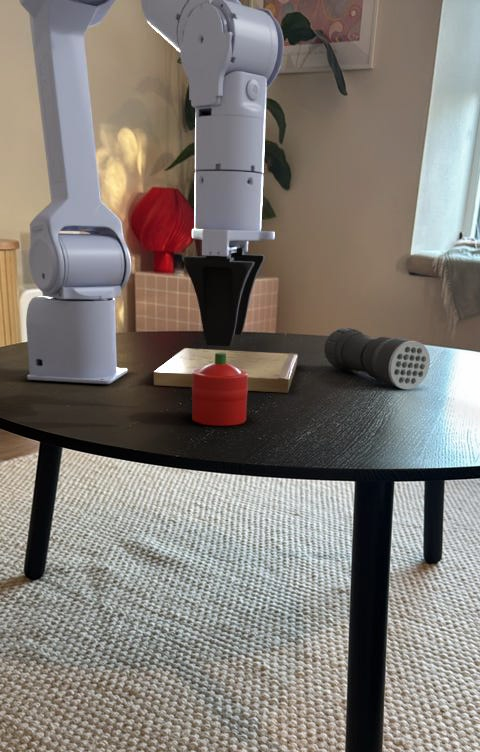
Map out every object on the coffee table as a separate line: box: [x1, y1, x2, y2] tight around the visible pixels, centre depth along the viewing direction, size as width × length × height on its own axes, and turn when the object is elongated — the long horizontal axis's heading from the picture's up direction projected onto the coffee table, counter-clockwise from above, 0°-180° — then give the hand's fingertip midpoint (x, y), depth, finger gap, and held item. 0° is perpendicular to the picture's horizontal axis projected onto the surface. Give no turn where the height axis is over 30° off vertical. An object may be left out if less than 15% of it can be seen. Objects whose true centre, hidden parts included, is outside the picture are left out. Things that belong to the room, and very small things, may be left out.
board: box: [153, 347, 298, 394], centre depth 91 cm, size 15×18×2 cm
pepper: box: [191, 353, 249, 427], centre depth 69 cm, size 5×5×6 cm
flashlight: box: [323, 327, 431, 390], centre depth 92 cm, size 15×5×5 cm, turn 25°
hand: (225, 339), depth 68 cm, fingers open, 7 cm apart
